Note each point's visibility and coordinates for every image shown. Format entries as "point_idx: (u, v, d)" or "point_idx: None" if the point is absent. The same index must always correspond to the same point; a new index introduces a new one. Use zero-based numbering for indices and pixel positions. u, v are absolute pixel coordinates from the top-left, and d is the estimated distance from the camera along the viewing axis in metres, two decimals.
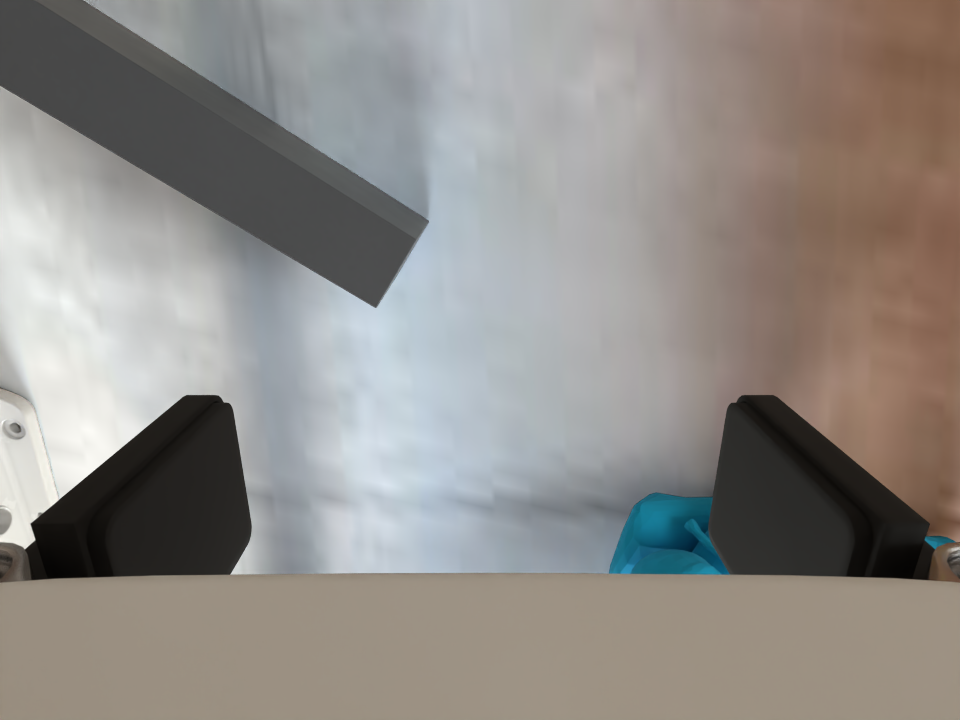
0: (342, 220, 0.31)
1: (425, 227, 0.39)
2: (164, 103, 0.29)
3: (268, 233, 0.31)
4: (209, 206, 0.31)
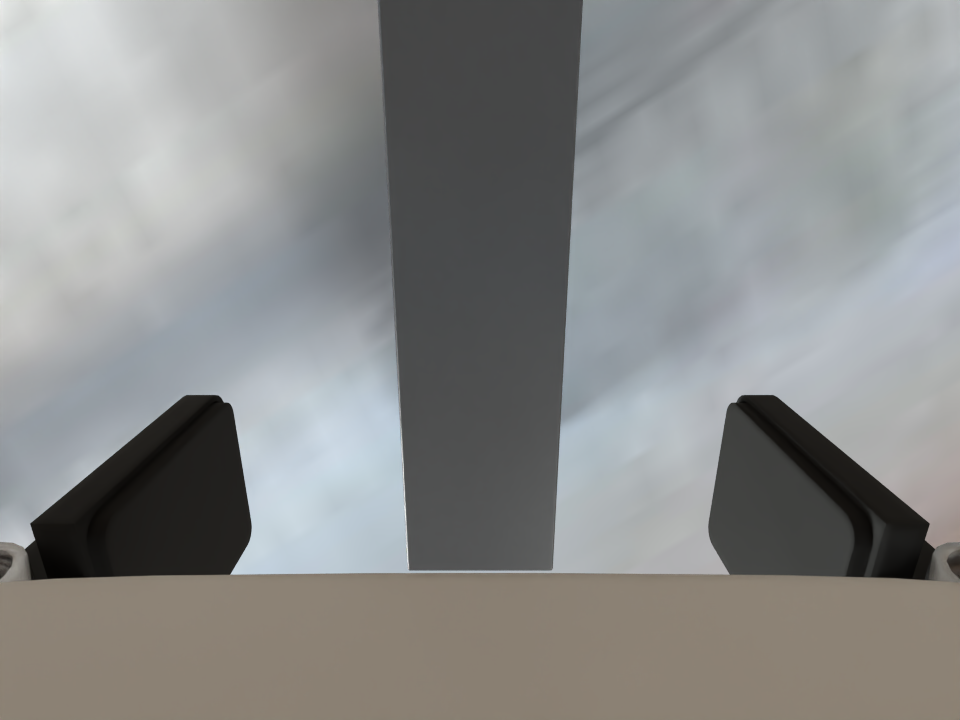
0: (515, 462, 0.17)
1: None
2: (538, 74, 0.13)
3: (417, 365, 0.16)
4: (396, 245, 0.15)
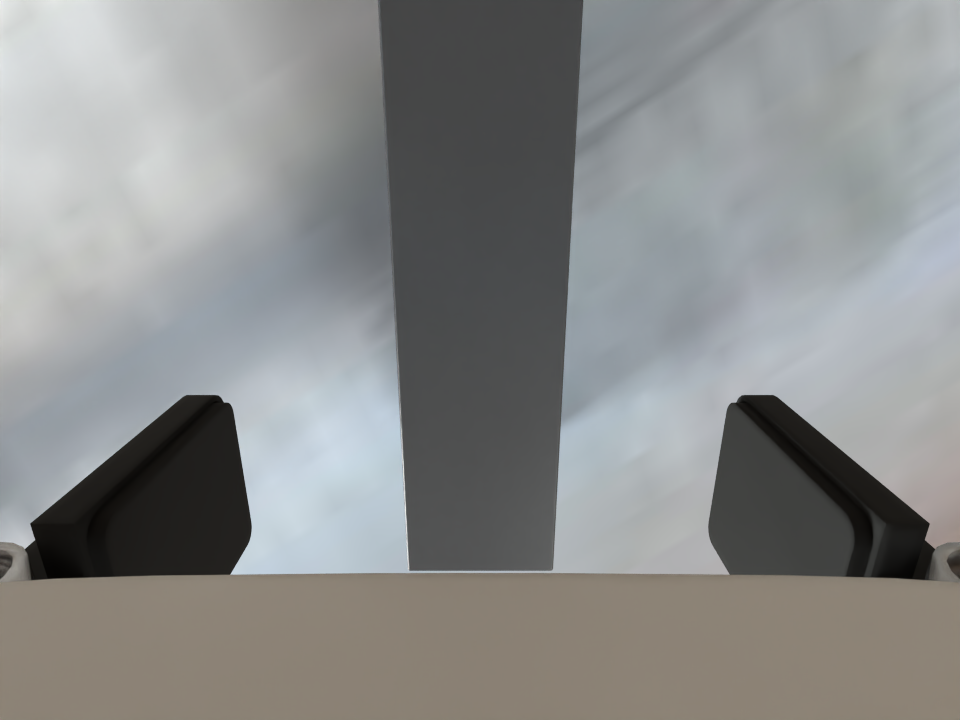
0: (516, 462, 0.17)
1: None
2: (538, 74, 0.13)
3: (417, 365, 0.16)
4: (396, 245, 0.15)
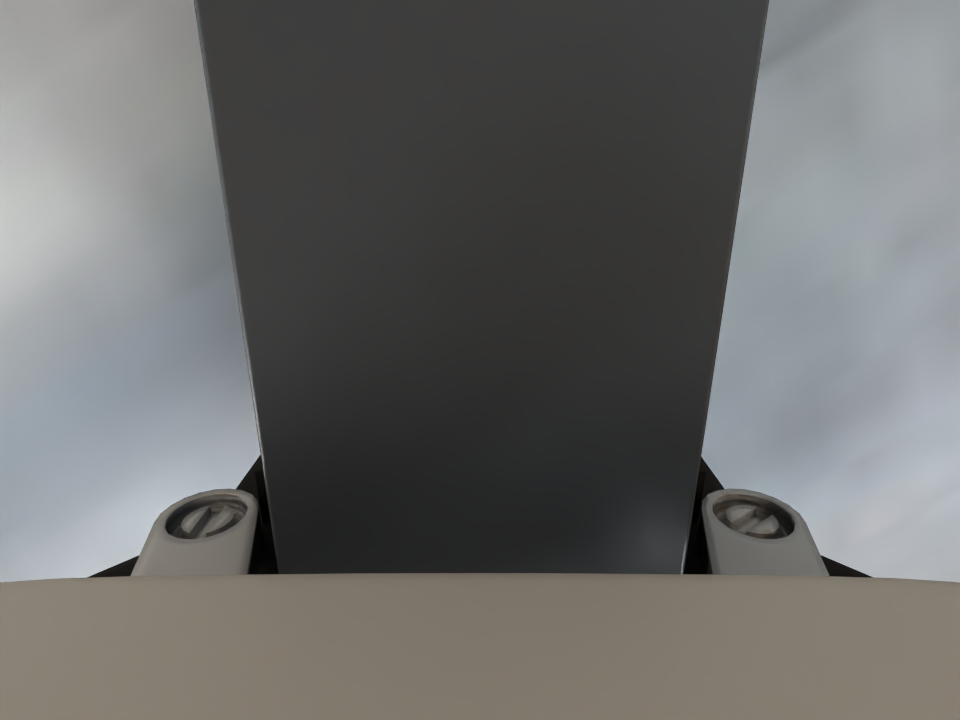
0: None
1: None
2: None
3: None
4: (266, 396, 0.06)
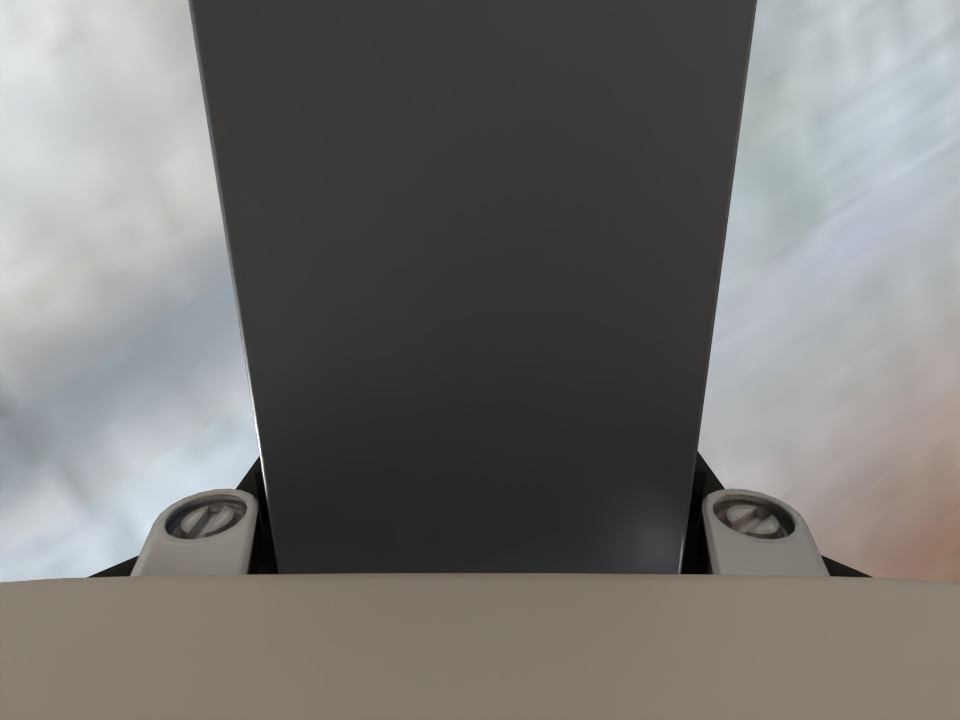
0: None
1: None
2: None
3: None
4: (263, 394, 0.06)
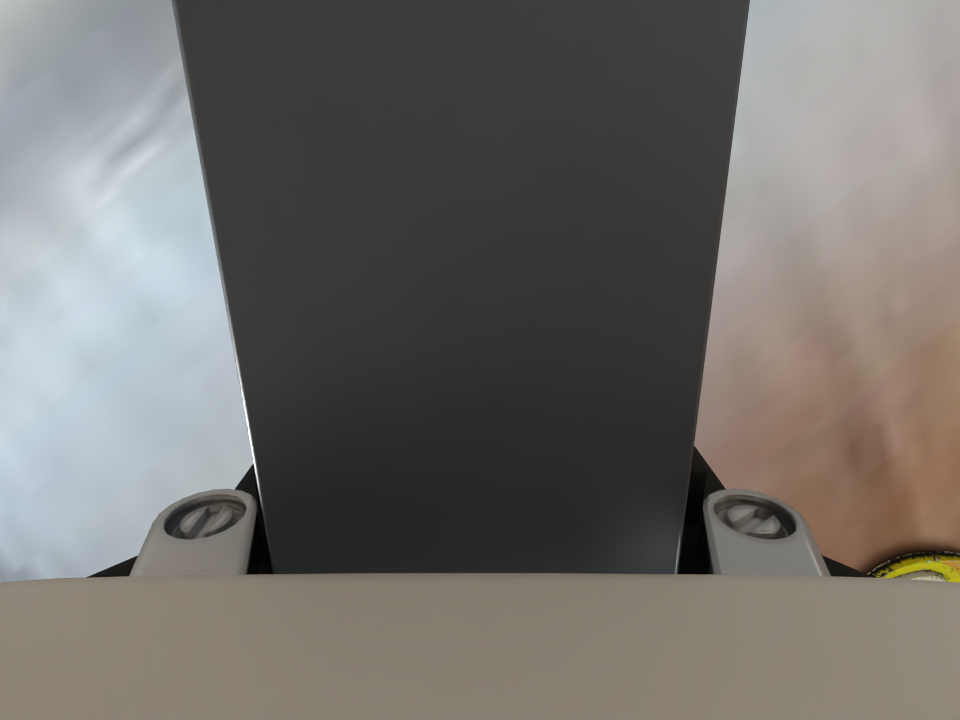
0: None
1: None
2: None
3: None
4: (256, 403, 0.06)
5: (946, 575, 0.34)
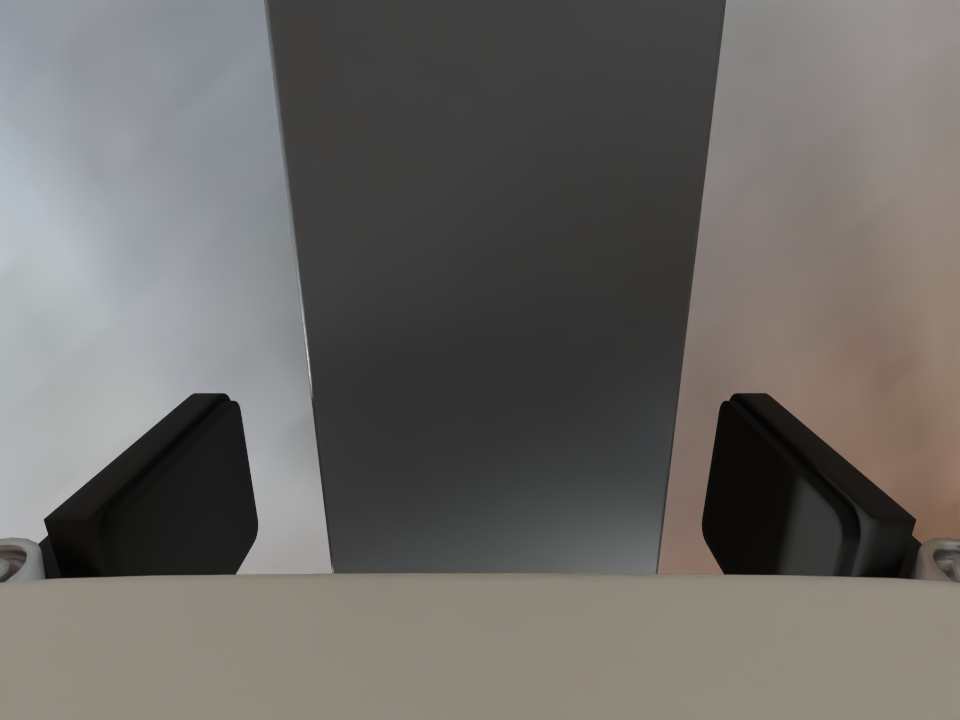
0: None
1: None
2: None
3: None
4: (318, 355, 0.07)
5: None
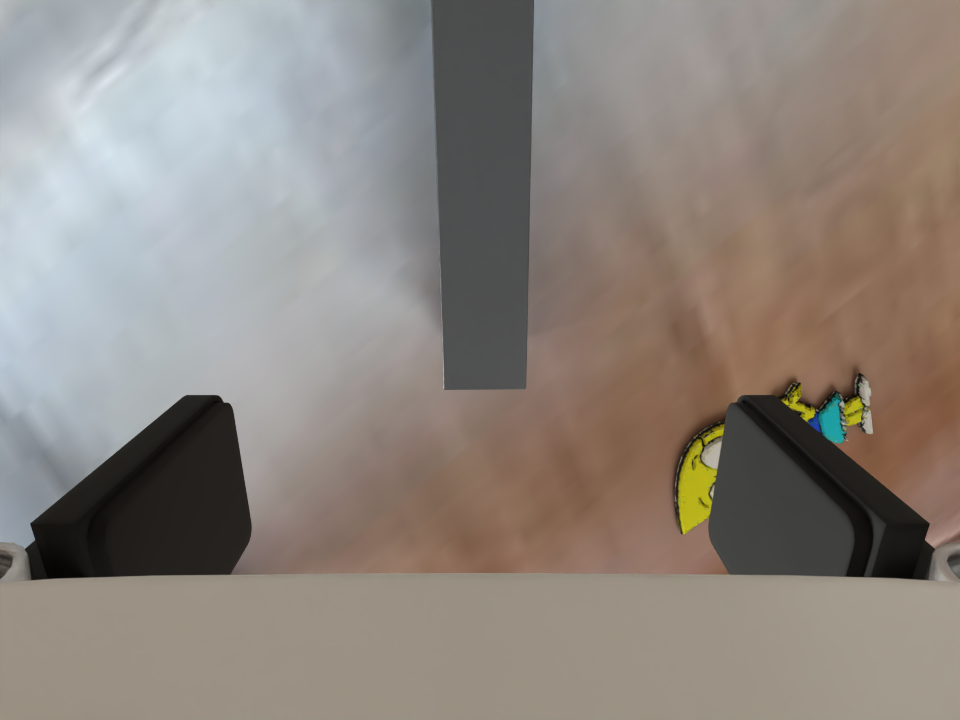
0: (504, 322, 0.31)
1: None
2: (511, 113, 0.27)
3: (450, 265, 0.30)
4: (440, 200, 0.29)
5: None
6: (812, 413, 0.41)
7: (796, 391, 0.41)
